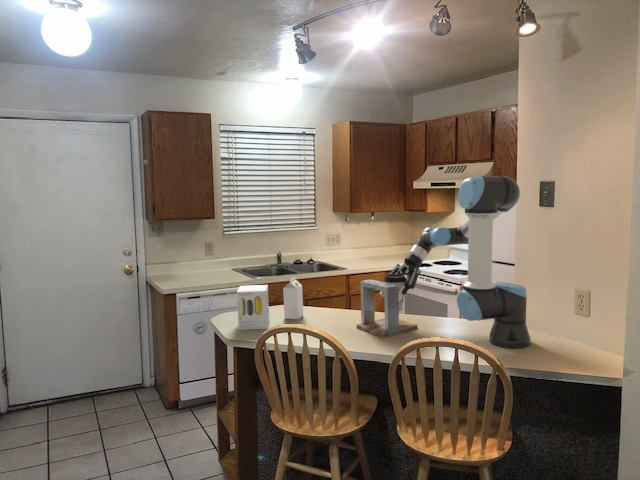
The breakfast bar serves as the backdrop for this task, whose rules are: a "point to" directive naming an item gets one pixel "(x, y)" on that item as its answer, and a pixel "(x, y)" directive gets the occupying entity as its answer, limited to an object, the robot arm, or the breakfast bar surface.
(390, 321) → the grey keeper bridge
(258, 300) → the supplement box
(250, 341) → the breakfast bar surface
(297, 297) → the milk carton
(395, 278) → the coffee cup
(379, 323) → the walnut board
